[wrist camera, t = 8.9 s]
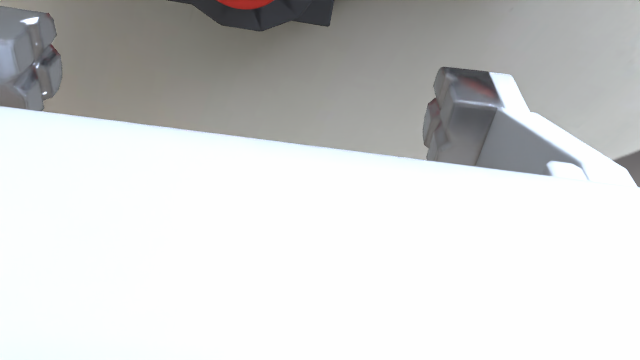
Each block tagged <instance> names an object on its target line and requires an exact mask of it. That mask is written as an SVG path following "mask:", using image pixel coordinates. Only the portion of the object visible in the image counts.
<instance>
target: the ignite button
mask: <svg viewBox="0 0 640 360" xmlns="http://www.w3.org/2000/svg"><path fill="white" fill-rule="evenodd" d="M217 1H219V2H220V3H222V4H224V5H226V6H229V7H232V8H236V9H256V8H260V7H263V6H265V5H267V4H269V3H271V2H272V1H274V0H217Z"/></svg>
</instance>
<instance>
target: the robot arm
mask: <svg viewBox="0 0 640 360" xmlns="http://www.w3.org/2000/svg"><path fill="white" fill-rule="evenodd" d="M56 36H57V33H56V28H55V24H54V20H53V18H52V17H51V16H50V14H49V13H44V12H38V11H31V10H25V9H18V8H12V7H5V6H0V360H640V187H637V186H636V184H635V182H634V181H633V179H632V178H631V176H630V175H629V173H628V171H627V170H626V169H625V168H623V167H621V166H620V165H618V164H617V163H615V162H614V161H612V160H611V159H609V158H607V157H606V156H604V155H603V154H601V153H599V152H598V151H596V150H595V149H593V148H591V147H590V146H588V145H587V144H585V143H583V142H582V141H580V140H579V139H577V138H575V137H574V136H572V135H571V134H569V133H568V132H566V131H564V130H563V129H561V128H560V127H558V126H556V125H555V124H553V123H552V122H550V121H548V120H547V119H545V118H544V117H542V116H540V115H539V114H537V113H532V112H530V111H529V109H528V107H527V105H526V103H525V101H524V99H523V97H522V95H521V93H520V91H519V89H518V87H517V85H516V83H515V81H514V79H513V77H512V76H511V75H509V74H499V73H489V72H486V71H478V70H469V69H460V68H451V67H441V68H440V69H439V71H438V73H437V75H436V79H435V82H434V85H433V87H434V91H435V95H436V98H434V99H433V100H432V101H431V102H430V103H428V106H427V110H426V113H425V117H424V124H423V141H424V145H425V146H426V147H428V148H429V150H428V153H427V156H426V157H427V160H420V159H412V158H404V157H396V156H388V155H380V154H372V153H364V152H357V151H349V150H341V149H333V148H325V147H317V146H309V145H301V144H294V143H286V142H278V141H270V140H262V139H254V138H246V137H239V136H231V135H223V134H215V133H207V132H199V131H191V130H184V129H176V128H168V127H160V126H152V125H144V124H136V123H129V122H121V121H113V120H105V119H97V118H89V117H81V116H73V115H66V114H58V113H50V112H42V110H43V109H44V104H43V101H44V100H46V99H49V98H51V97H53V96H54V95H55V94H56V92H57V91H58V90H59V87H60V83H61V80H62V61H61V55H60V54H59V53H58V52H57V50H56V49H55V48H54V47H53V46H52V42H53V40H54V39H55V37H56Z"/></svg>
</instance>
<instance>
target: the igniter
mask: <svg viewBox="0 0 640 360" xmlns="http://www.w3.org/2000/svg"><path fill="white" fill-rule="evenodd" d="M168 1H175V2H181V3H187V4H192V5H194V6H195V7H196V8H198V9H199V10H201V11H202V12H203V13H205V14H206V15H208V16H209V17H210V18H212V19H213V20H214V21H216V22H217V23H219V24H221V25H223V26H229V27H236V28H242V29H248V30H254V31H264V30H267V29H270V28H272V27H275V26H278V25H281V24H283V23H286V22H289V21H297V22H303V23H309V24H315V25H321V26H327V27H328V26H330V21H331V15H332V9H333V4H334V0H274V1H272V2H271V3H269V4H267V5H265V6H263V7H260V8H256V9H236V8H232V7H229V6H226V5H224V4H222V3H220V2H219V1H217V0H168Z"/></svg>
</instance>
